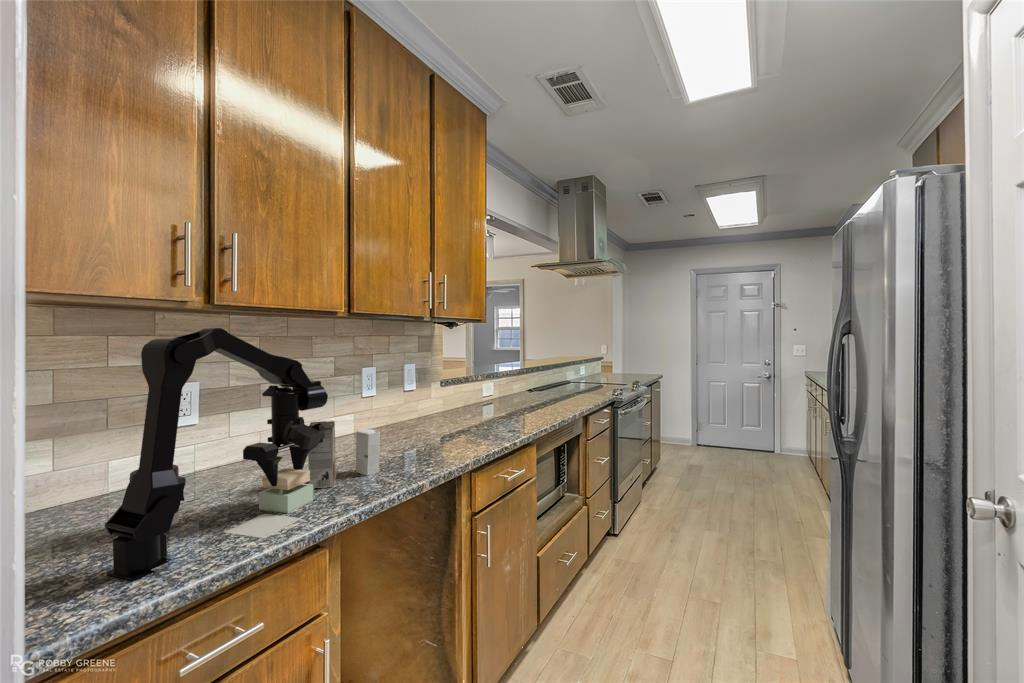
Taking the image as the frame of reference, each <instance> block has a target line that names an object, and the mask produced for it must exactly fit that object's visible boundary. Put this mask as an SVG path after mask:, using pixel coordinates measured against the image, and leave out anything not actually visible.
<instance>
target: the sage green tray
mask: <svg viewBox="0 0 1024 683" xmlns="http://www.w3.org/2000/svg"><path fill="white" fill-rule="evenodd" d="M313 502H314V489H313V484H309V483H303V484H301V485H298V486H296V487H294V488H291V489H289V490H282V489H273V488H266V489H264V490H262V491H260V492H258V510H259V511H265V512H270V513H271V512H272V513H280V514H281V513H282V514H291V513H292V512H294V511H296V510H298V509H300V508H302V507H304V506H306V505H308V504H310V503H313Z"/></svg>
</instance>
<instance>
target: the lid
mask: <svg viewBox="0 0 1024 683" xmlns="http://www.w3.org/2000/svg"><path fill="white" fill-rule="evenodd" d="M309 481H310V470H309V469H303V470H299V469H293V468H288V467H285V468H283V469H281V470H278V479H277V486H271V484H270V482H269V480H268V479H267V477H266V475H264V476H262V477H261V482H262V488H265V489H269V488H273V489H282V490H289V489H291V488H294V487H296V486H298V485H301V484H306V483H309Z"/></svg>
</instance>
